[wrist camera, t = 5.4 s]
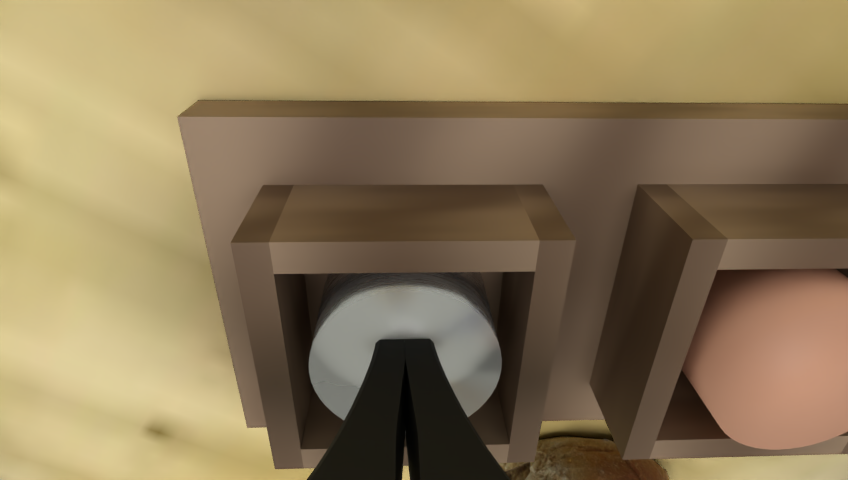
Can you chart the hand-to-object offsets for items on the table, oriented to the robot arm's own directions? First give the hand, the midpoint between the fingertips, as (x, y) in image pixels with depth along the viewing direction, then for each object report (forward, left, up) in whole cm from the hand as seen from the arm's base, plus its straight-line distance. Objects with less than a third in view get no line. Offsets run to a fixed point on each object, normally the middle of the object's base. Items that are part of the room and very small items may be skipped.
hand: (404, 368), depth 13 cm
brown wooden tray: (-5, 0, -4) cm, 7 cm away
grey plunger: (0, 0, -3) cm, 3 cm away
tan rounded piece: (-10, 0, -2) cm, 10 cm away
